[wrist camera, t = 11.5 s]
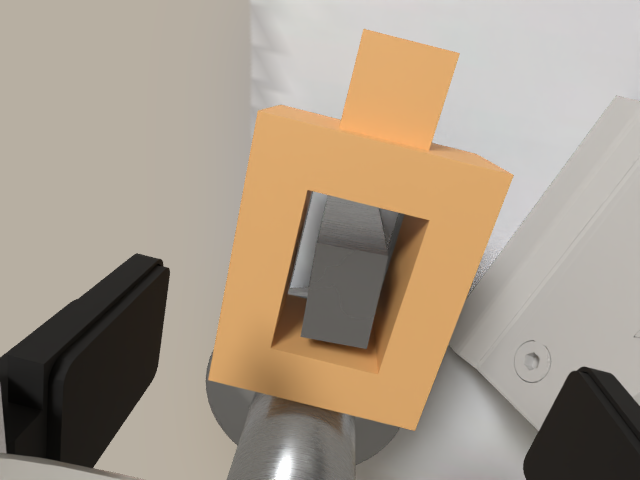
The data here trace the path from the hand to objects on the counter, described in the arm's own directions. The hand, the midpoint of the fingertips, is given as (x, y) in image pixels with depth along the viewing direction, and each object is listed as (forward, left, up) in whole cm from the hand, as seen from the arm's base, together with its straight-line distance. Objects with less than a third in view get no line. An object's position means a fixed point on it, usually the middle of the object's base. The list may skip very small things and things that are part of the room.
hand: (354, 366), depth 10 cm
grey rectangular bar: (+1, 0, -16) cm, 16 cm away
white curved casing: (0, +13, -17) cm, 21 cm away
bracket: (-1, 0, -10) cm, 10 cm away
